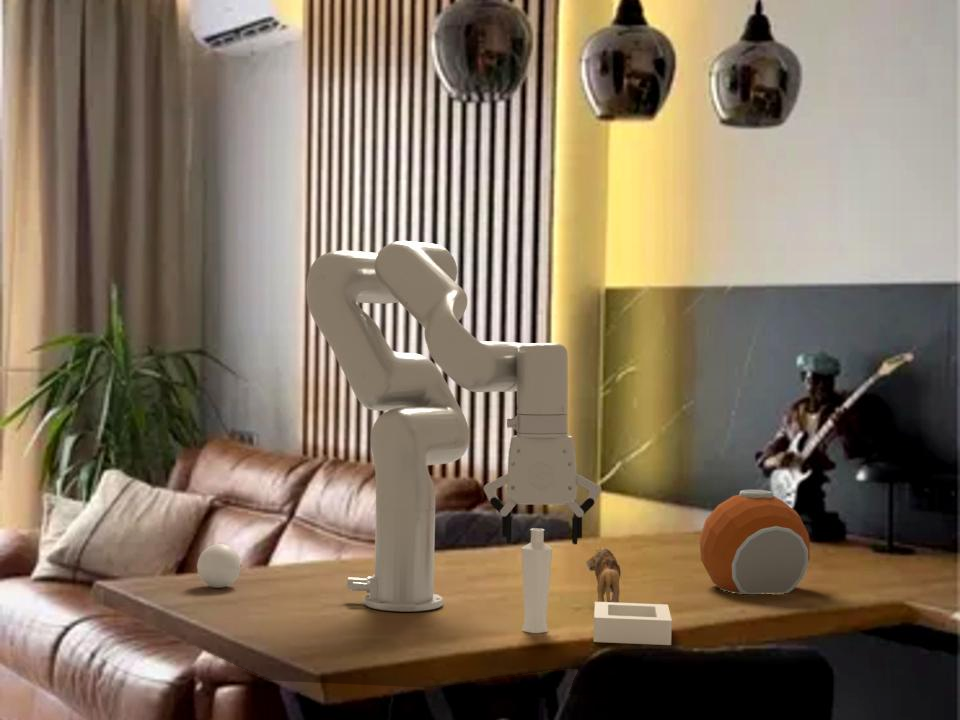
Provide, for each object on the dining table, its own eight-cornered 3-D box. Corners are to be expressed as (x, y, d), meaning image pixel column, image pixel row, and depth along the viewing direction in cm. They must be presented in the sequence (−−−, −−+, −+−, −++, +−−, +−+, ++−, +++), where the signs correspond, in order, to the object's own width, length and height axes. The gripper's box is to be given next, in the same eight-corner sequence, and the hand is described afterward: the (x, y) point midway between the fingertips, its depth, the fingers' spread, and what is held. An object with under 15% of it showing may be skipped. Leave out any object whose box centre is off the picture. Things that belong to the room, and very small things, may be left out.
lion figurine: (583, 600, 231) (584, 546, 230) (615, 600, 231) (616, 546, 231) (599, 618, 216) (601, 560, 216) (633, 618, 216) (635, 560, 216)
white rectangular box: (593, 641, 199) (594, 617, 199) (594, 624, 211) (594, 601, 211) (671, 645, 198) (671, 620, 198) (667, 627, 210) (668, 604, 210)
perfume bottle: (545, 635, 203) (548, 532, 202) (517, 632, 204) (519, 530, 204) (555, 628, 207) (557, 528, 207) (527, 626, 209) (529, 526, 208)
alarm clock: (780, 579, 255) (783, 485, 255) (826, 597, 238) (829, 496, 238) (683, 581, 250) (685, 485, 250) (722, 600, 233) (725, 497, 233)
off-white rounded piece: (242, 591, 231) (243, 547, 231) (196, 591, 230) (197, 547, 230) (240, 580, 241) (240, 538, 241) (196, 581, 240) (197, 538, 240)
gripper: (481, 427, 202) (481, 545, 202) (601, 428, 200) (601, 547, 200) (485, 425, 210) (485, 539, 209) (601, 425, 208) (601, 540, 208)
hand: (542, 542), depth 205 cm, fingers open, 9 cm apart
